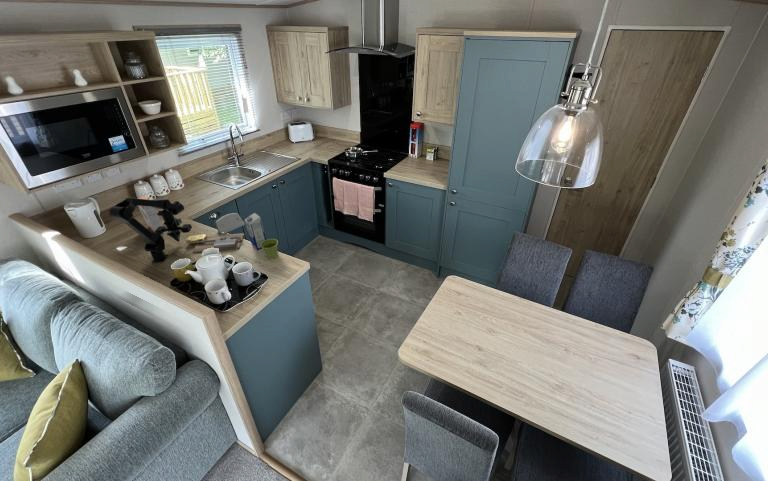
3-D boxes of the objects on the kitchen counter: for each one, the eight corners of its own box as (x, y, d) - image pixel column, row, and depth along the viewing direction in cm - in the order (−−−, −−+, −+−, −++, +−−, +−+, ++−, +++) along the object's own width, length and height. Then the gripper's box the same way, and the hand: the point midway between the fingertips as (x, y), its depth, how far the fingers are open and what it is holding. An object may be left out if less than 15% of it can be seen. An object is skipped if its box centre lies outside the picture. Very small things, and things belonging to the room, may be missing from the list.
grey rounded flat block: (221, 234, 216) (214, 220, 212) (218, 234, 219) (211, 220, 216) (245, 224, 226) (239, 210, 223) (242, 224, 229) (236, 210, 226)
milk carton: (267, 245, 204) (260, 216, 193) (257, 250, 200) (248, 220, 189) (262, 241, 208) (254, 212, 197) (251, 245, 204) (243, 216, 193)
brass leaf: (204, 242, 206) (202, 238, 205) (186, 243, 205) (185, 240, 204) (207, 237, 211) (205, 233, 210) (190, 238, 210) (188, 235, 209)
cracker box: (147, 227, 226) (134, 199, 215) (157, 223, 230) (144, 195, 218) (155, 234, 218) (142, 205, 207) (165, 230, 222) (152, 201, 211)
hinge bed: (238, 248, 202) (237, 243, 200) (193, 253, 199) (190, 247, 197) (244, 234, 215) (242, 229, 213) (201, 238, 213) (199, 233, 211)
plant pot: (284, 255, 195) (281, 242, 190) (269, 263, 189) (266, 250, 184) (275, 249, 200) (271, 236, 196) (260, 256, 194) (257, 244, 190)
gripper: (190, 211, 206) (199, 232, 214) (157, 213, 204) (167, 235, 213) (184, 220, 197) (193, 242, 205) (149, 223, 195) (160, 245, 203)
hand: (178, 241), depth 207 cm, fingers closed
